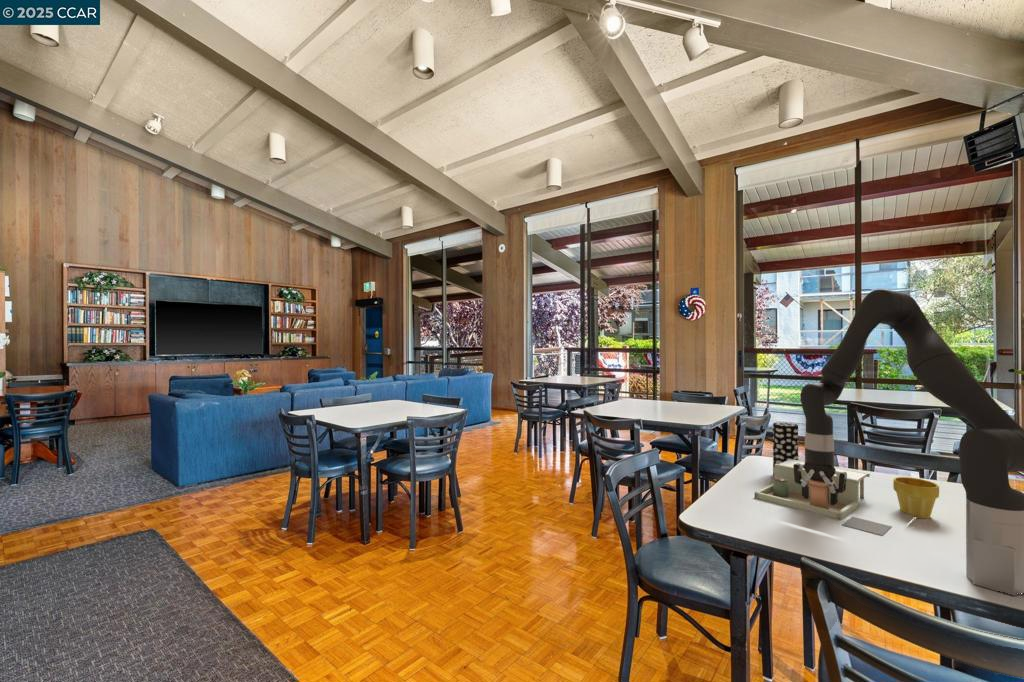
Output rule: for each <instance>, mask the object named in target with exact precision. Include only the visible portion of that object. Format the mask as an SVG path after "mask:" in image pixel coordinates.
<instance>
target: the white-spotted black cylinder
mask: <svg viewBox="0 0 1024 682" xmlns="http://www.w3.org/2000/svg"><path fill="white" fill-rule="evenodd" d="M788 459H793V460H798V461H799V424H796V423H791V422H781V421H780V422H772V475H774V467H775V464H780V463H783V462H785V461H788Z"/></svg>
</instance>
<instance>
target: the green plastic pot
mask: <svg viewBox="0 0 1024 682" xmlns="http://www.w3.org/2000/svg"><path fill="white" fill-rule="evenodd" d="M772 484H773V494H774V495H775V496H778V497H789V481H788V480H787V479H785V478H779V477H776V478H774V477H773V478H772Z"/></svg>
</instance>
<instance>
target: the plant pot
mask: <svg viewBox="0 0 1024 682" xmlns="http://www.w3.org/2000/svg"><path fill="white" fill-rule="evenodd" d="M892 481H893V483H892V484H893V486H892V487H893V491H894V492H895V493H896V496H897V497H896V498H897V501H898V506H899V511H901V512H904V513H906V514H909V515H913V518H915V517H917V518H916V519H923V518H927V519H929V517H930V518H931V516H932V512H933V509H934V505H935V503H936V500H937V499H938V498H939V497H940V486H939V484H938V483H936V482H933V481H930V480H927V479H923V478H916V477H908V476H907V477H906V476H897V477H894V478H893V480H892Z"/></svg>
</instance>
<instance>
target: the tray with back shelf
mask: <svg viewBox="0 0 1024 682" xmlns="http://www.w3.org/2000/svg"><path fill="white" fill-rule="evenodd" d="M796 463H800V464H803V465H804V464H805V460H804V461H803V460H799V459H798V460H793V459H788V461H785V462H783V463H780V464H775V467H774V476H773V479H774V478H776V477H779V478H785V479H787V480H788V481H789V497H778V496H775V495H774V494H773V483H772V484H769V485H768V486H765V487H763V488H761V489H759V490H756V491H754V498H755V499H759V500H762V501H766V502H771V503H774V504H778V505H782V506H786V507H790V508H794V509H798V510H802V511H805V512H810V513H814V514H818V515H821V516H825V517H827V518H828V517H830V518H833V519H836V520H843V519H844V518H846V517H847V516H848V515H850V514H851V513H852V512H854V511H855V510H856V509H858V508H859V507H860V506H859V505H860V503H859V502H860V501H859V499H860V498H861V499H864V497H865V482H864V481H865V479H866V478H870V477H871V473H869V472H863V471H859V470H853V469H847V468H841V467H836V466H834V468H835V470H836V471H840V472H846V473H847V480H846V490H845V491H844V492H842V493H838V502H837V503H836V504H835V505H834V506H833V505H831V504H830V493H831V490H830V489H829V509H825V508H821V507H817V506H813V505H810V484H808V486H809V498H808V499H804V496H802V486H801V485H800V484H798V483H795V478H794V467H793V465H794V464H796ZM801 475H802V480H804V478H805V477H806V476H807V472H806V471H805V470H804V468H803V470H802V471H801ZM832 478H833V480H834V481H835V485H836V486H837V488H838V486H839V479H838V478H837V475H836V474H835V475H834V476H833V477H832ZM859 497H860V498H859Z"/></svg>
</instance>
